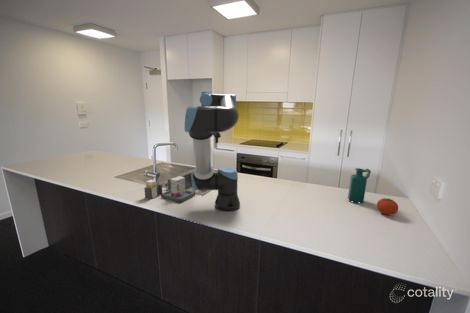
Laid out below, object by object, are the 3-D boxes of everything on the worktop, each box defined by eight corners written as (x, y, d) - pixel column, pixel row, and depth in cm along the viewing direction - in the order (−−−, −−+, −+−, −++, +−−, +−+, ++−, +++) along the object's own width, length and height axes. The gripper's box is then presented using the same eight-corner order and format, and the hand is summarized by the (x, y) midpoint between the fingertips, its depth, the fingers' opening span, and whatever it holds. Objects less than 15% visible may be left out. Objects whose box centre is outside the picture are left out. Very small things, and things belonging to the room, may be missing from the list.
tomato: (371, 209, 130) (374, 194, 128) (388, 210, 130) (391, 194, 128) (382, 218, 120) (385, 201, 118) (401, 218, 120) (404, 201, 118)
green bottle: (349, 202, 140) (353, 169, 136) (347, 197, 148) (351, 166, 143) (366, 204, 137) (371, 171, 132) (363, 199, 145) (368, 168, 140)
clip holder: (174, 189, 156) (173, 174, 154) (150, 199, 138) (149, 183, 136) (169, 188, 159) (168, 173, 156) (145, 198, 141) (143, 181, 138)
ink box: (176, 198, 139) (175, 180, 136) (170, 196, 141) (170, 179, 139) (185, 193, 146) (185, 177, 144) (180, 192, 149) (179, 175, 146)
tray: (195, 195, 146) (195, 192, 145) (180, 203, 134) (180, 199, 133) (176, 190, 154) (176, 187, 153) (161, 197, 142) (160, 193, 141)
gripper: (226, 116, 142) (225, 147, 147) (195, 114, 154) (196, 144, 158) (220, 116, 136) (219, 149, 140) (188, 115, 147) (189, 145, 152)
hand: (207, 146), depth 149 cm, fingers open, 13 cm apart
